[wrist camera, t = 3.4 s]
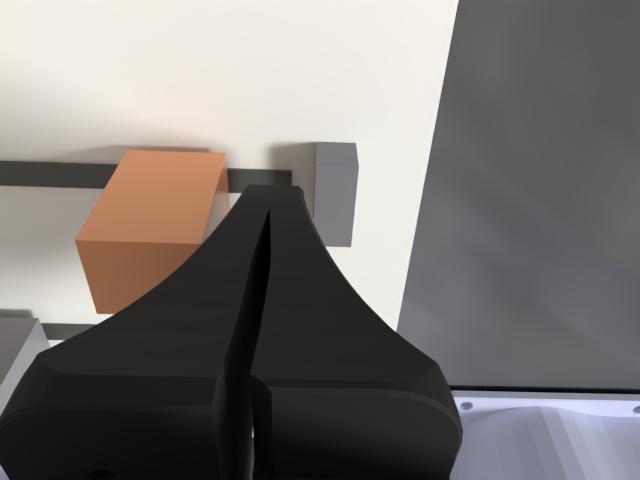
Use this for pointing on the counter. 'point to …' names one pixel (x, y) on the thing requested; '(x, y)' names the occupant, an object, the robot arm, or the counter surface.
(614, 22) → the counter surface
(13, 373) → the grey rectangular box
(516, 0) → the counter surface
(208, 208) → the fader orange
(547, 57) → the counter surface
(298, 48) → the panel
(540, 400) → the robot arm
